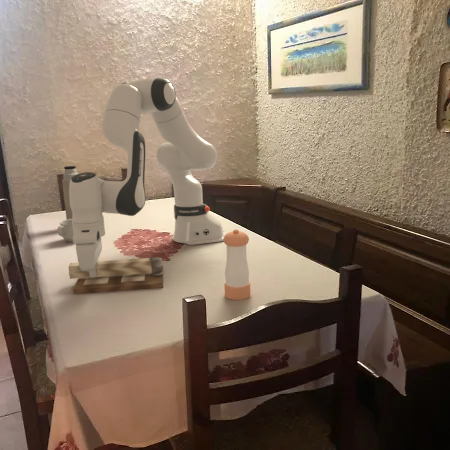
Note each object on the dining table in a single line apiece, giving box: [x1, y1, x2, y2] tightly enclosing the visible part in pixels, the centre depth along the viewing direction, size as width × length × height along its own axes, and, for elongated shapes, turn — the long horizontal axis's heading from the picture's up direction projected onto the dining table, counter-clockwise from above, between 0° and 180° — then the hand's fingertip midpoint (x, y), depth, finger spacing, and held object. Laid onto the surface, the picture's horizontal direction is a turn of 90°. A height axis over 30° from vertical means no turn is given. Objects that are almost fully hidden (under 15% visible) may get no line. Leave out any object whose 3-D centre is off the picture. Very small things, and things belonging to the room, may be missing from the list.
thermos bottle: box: [61, 165, 79, 220], centre depth 215 cm, size 8×8×28 cm
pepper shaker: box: [222, 229, 251, 301], centre depth 134 cm, size 7×7×19 cm
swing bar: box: [68, 256, 164, 280], centre depth 149 cm, size 28×4×4 cm, turn 97°
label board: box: [72, 265, 164, 295], centre depth 150 cm, size 26×16×2 cm, turn 97°
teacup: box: [56, 219, 73, 243], centre depth 196 cm, size 14×11×8 cm
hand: (93, 275), depth 142 cm, fingers closed
